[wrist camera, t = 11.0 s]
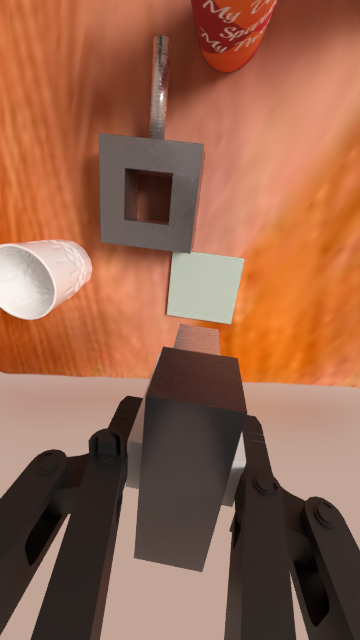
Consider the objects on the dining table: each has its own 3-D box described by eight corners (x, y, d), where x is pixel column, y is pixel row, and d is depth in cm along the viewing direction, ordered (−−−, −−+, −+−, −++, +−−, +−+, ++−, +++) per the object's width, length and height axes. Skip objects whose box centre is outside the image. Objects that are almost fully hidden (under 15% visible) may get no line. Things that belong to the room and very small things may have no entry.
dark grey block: (184, 286, 18) (145, 395, 8) (225, 292, 18) (247, 412, 7) (172, 386, 22) (134, 558, 11) (206, 391, 22) (202, 572, 11)
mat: (173, 249, 32) (172, 249, 32) (244, 258, 32) (244, 258, 31) (167, 313, 36) (166, 314, 36) (230, 323, 36) (230, 324, 35)
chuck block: (117, 50, 25) (96, 15, 21) (217, 58, 25) (218, 23, 20) (116, 237, 33) (100, 242, 28) (193, 247, 32) (190, 253, 27)
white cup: (63, 221, 33) (6, 225, 24) (108, 267, 34) (71, 288, 25) (31, 262, 35) (-32, 280, 26) (74, 302, 37) (29, 333, 28)
